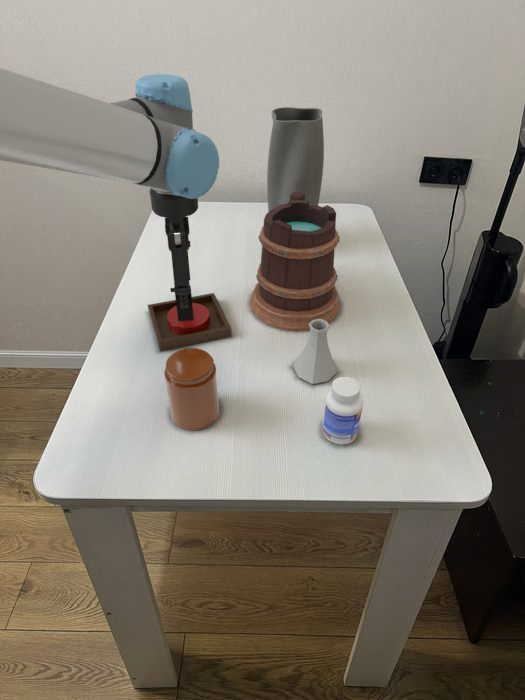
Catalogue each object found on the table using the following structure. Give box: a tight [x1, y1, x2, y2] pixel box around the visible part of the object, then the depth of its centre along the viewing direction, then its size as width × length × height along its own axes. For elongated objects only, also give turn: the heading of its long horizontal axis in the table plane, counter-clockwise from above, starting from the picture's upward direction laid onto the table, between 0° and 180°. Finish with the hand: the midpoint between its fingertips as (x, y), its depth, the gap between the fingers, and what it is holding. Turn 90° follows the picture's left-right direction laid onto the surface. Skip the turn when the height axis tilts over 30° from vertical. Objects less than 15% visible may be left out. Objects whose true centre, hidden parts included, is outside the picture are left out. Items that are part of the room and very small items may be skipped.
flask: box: [292, 319, 338, 385], centre depth 82 cm, size 7×7×10 cm
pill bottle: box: [321, 376, 364, 445], centre depth 72 cm, size 5×5×10 cm
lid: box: [167, 303, 210, 335], centre depth 95 cm, size 8×8×2 cm
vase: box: [266, 106, 325, 213], centre depth 111 cm, size 12×12×30 cm
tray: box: [147, 292, 232, 352], centre depth 95 cm, size 14×13×2 cm
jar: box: [163, 347, 220, 431], centre depth 74 cm, size 8×8×10 cm
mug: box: [249, 192, 341, 332], centre depth 96 cm, size 18×23×20 cm
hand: (184, 298), depth 91 cm, fingers open, 13 cm apart
